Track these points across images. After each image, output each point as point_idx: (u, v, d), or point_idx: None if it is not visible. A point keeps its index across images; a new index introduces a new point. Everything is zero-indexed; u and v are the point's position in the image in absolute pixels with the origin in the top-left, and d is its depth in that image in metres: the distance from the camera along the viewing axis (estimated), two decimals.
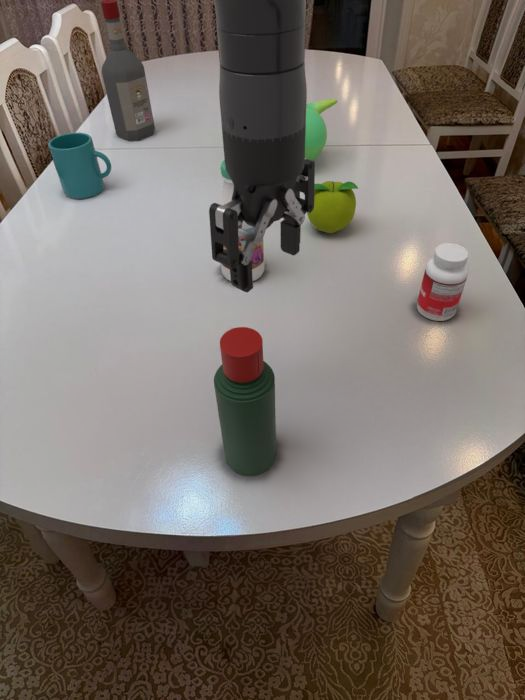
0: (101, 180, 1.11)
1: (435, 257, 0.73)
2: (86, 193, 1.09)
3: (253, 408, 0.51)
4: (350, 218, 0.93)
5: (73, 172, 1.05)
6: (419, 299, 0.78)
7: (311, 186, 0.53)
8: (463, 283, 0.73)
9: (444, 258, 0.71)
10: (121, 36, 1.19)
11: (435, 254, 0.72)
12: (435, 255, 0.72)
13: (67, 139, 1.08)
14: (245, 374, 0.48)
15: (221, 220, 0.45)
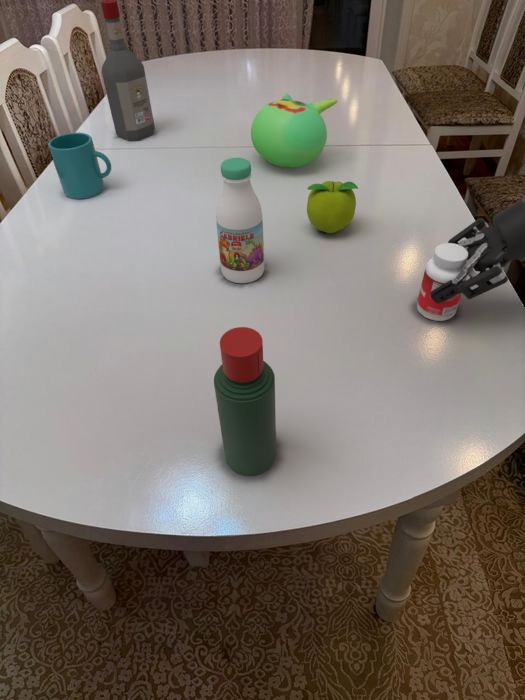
0: (101, 180, 1.11)
1: (435, 257, 0.73)
2: (86, 193, 1.09)
3: (253, 408, 0.51)
4: (350, 218, 0.93)
5: (73, 172, 1.05)
6: (419, 299, 0.78)
7: (478, 277, 0.68)
8: None
9: (444, 258, 0.71)
10: (121, 36, 1.19)
11: (435, 254, 0.73)
12: (435, 255, 0.72)
13: (67, 139, 1.08)
14: (245, 374, 0.48)
15: None
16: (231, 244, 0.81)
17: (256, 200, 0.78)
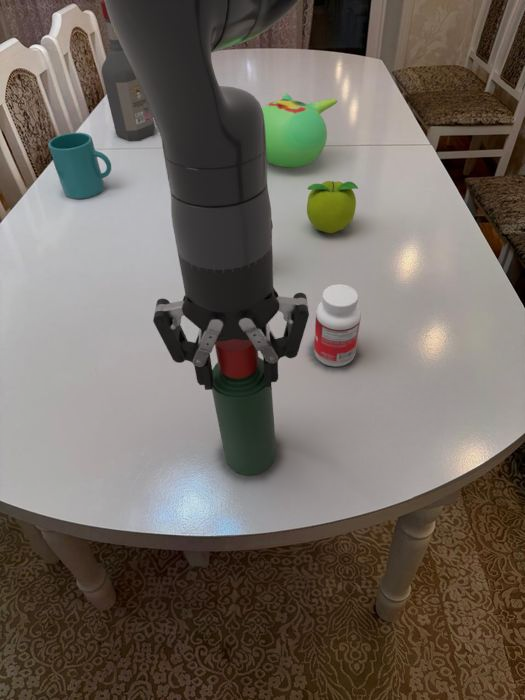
0: (101, 180, 1.11)
1: (322, 300, 0.66)
2: (86, 193, 1.09)
3: (249, 404, 0.51)
4: (350, 218, 0.93)
5: (73, 172, 1.05)
6: (314, 342, 0.72)
7: (296, 334, 0.45)
8: (355, 328, 0.67)
9: (330, 303, 0.65)
10: None
11: (322, 297, 0.66)
12: (322, 298, 0.66)
13: (67, 139, 1.08)
14: (240, 370, 0.49)
15: None
16: None
17: None
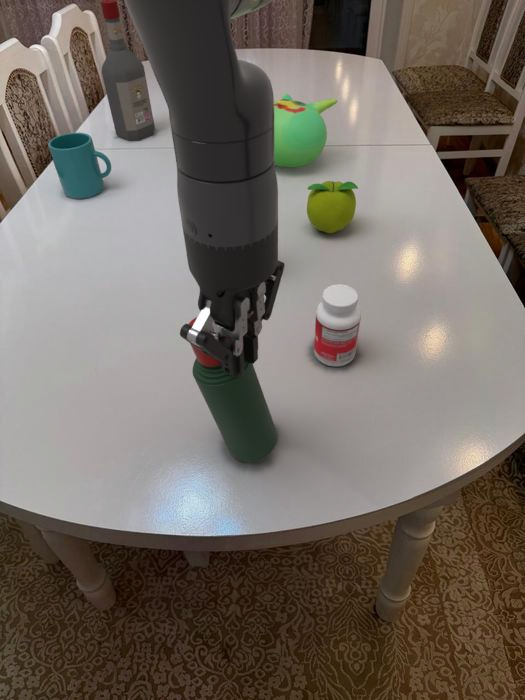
0: (101, 180, 1.11)
1: (322, 300, 0.66)
2: (86, 193, 1.09)
3: (243, 382, 0.52)
4: (350, 218, 0.93)
5: (73, 172, 1.05)
6: (314, 342, 0.72)
7: (275, 290, 0.48)
8: (355, 328, 0.67)
9: (330, 303, 0.65)
10: (121, 36, 1.19)
11: (322, 297, 0.66)
12: (322, 298, 0.66)
13: (67, 139, 1.08)
14: None
15: (196, 344, 0.41)
16: None
17: None
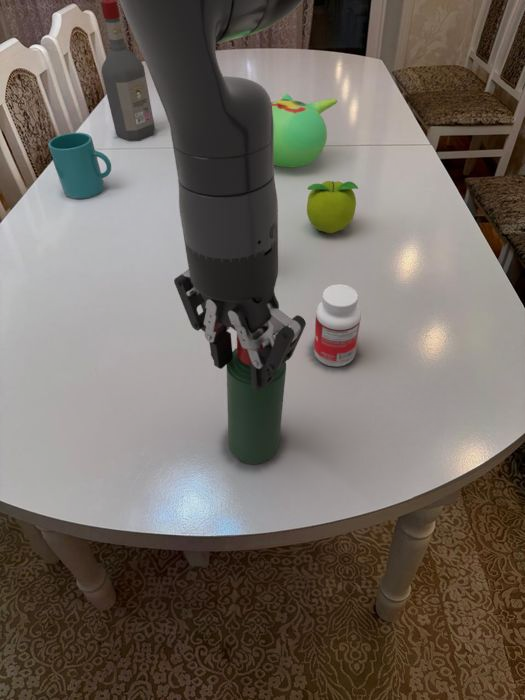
0: (101, 180, 1.11)
1: (322, 300, 0.66)
2: (86, 193, 1.09)
3: (278, 386, 0.52)
4: (350, 218, 0.93)
5: (73, 172, 1.05)
6: (314, 342, 0.72)
7: (277, 351, 0.43)
8: (355, 328, 0.67)
9: (330, 303, 0.65)
10: (121, 36, 1.19)
11: (322, 297, 0.66)
12: (322, 298, 0.66)
13: (67, 139, 1.08)
14: None
15: None
16: None
17: None
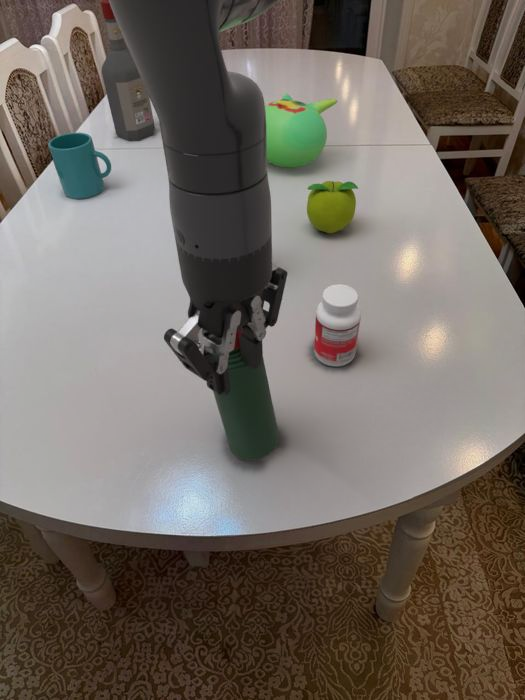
0: (101, 180, 1.11)
1: (322, 300, 0.66)
2: (86, 193, 1.09)
3: (256, 369, 0.53)
4: (350, 218, 0.93)
5: (73, 172, 1.05)
6: (314, 342, 0.72)
7: (278, 298, 0.47)
8: (355, 328, 0.67)
9: (330, 303, 0.65)
10: (121, 36, 1.19)
11: (322, 297, 0.66)
12: (322, 298, 0.66)
13: (67, 139, 1.08)
14: None
15: (178, 350, 0.40)
16: None
17: None
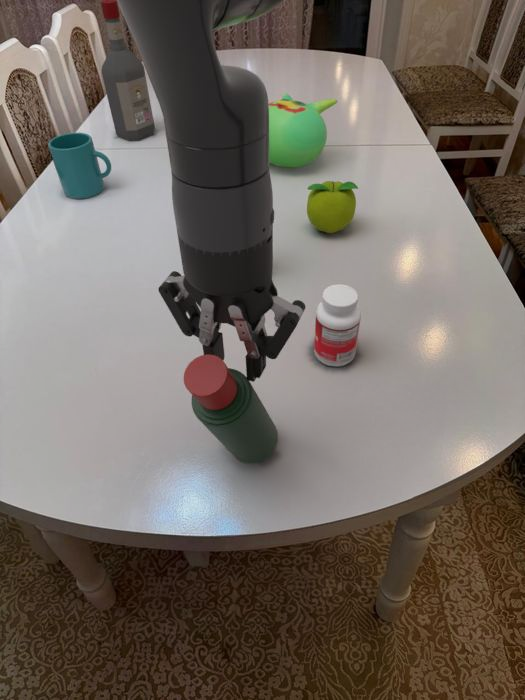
0: (101, 180, 1.11)
1: (322, 300, 0.66)
2: (86, 193, 1.09)
3: (251, 412, 0.50)
4: (350, 218, 0.93)
5: (73, 172, 1.05)
6: (314, 342, 0.72)
7: (280, 338, 0.44)
8: (355, 328, 0.67)
9: (330, 303, 0.65)
10: (121, 36, 1.19)
11: (322, 297, 0.66)
12: (322, 298, 0.66)
13: (67, 139, 1.08)
14: (229, 395, 0.47)
15: None
16: None
17: None
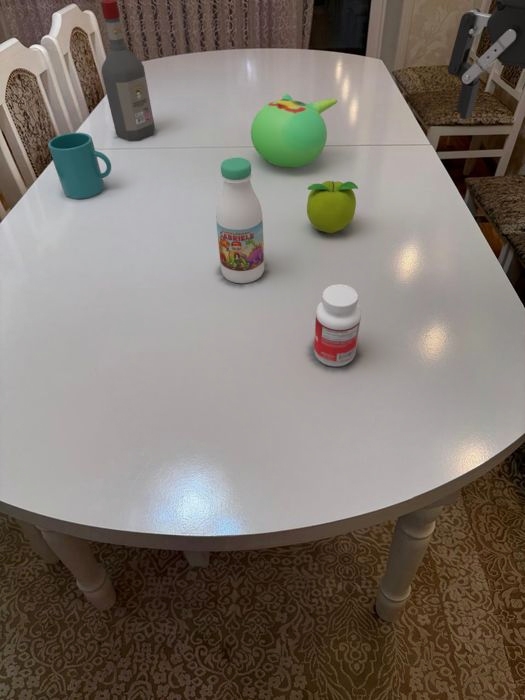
0: (101, 180, 1.11)
1: (322, 300, 0.66)
2: (86, 193, 1.09)
3: None
4: (350, 218, 0.93)
5: (73, 172, 1.05)
6: (314, 342, 0.72)
7: None
8: (355, 328, 0.67)
9: (330, 303, 0.65)
10: (121, 36, 1.18)
11: (322, 297, 0.66)
12: (322, 298, 0.66)
13: (67, 139, 1.08)
14: None
15: None
16: (231, 244, 0.81)
17: (256, 200, 0.78)
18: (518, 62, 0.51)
